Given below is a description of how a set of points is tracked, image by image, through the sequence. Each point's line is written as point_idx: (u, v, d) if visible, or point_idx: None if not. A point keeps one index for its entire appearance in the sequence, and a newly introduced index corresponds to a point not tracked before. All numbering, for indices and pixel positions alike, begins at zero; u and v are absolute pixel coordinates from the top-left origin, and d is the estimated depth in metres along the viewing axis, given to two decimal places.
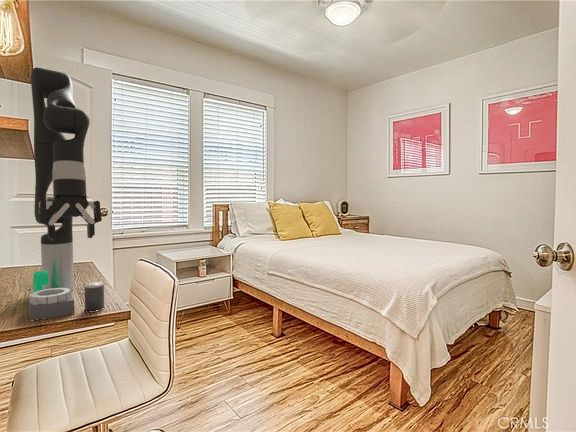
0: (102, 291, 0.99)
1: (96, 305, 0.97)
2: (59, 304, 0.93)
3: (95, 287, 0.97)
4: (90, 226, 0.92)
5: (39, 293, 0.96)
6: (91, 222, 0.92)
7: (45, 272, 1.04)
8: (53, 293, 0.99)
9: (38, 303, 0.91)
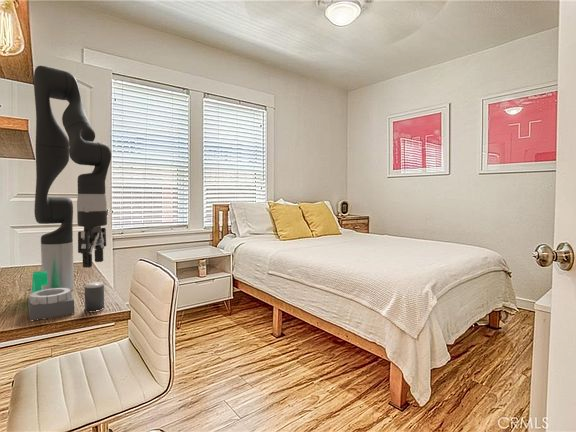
0: (102, 291, 0.99)
1: (96, 306, 0.97)
2: (59, 304, 0.93)
3: (95, 287, 0.97)
4: (102, 251, 1.03)
5: (39, 293, 0.96)
6: (103, 247, 1.03)
7: (44, 272, 1.04)
8: (53, 293, 0.99)
9: (38, 303, 0.91)
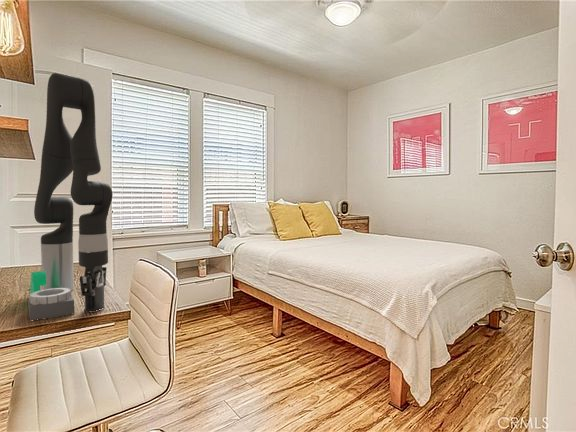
0: (102, 291, 0.99)
1: (96, 305, 0.97)
2: (59, 304, 0.93)
3: None
4: None
5: (39, 293, 0.96)
6: None
7: (43, 272, 1.03)
8: (53, 293, 0.99)
9: (38, 303, 0.91)
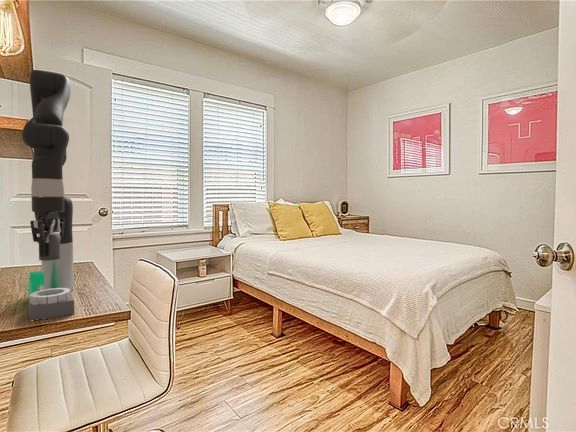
0: (58, 240, 0.95)
1: (51, 254, 0.93)
2: (59, 304, 0.93)
3: None
4: None
5: (39, 293, 0.96)
6: None
7: (41, 273, 1.03)
8: (53, 293, 0.99)
9: (38, 303, 0.91)
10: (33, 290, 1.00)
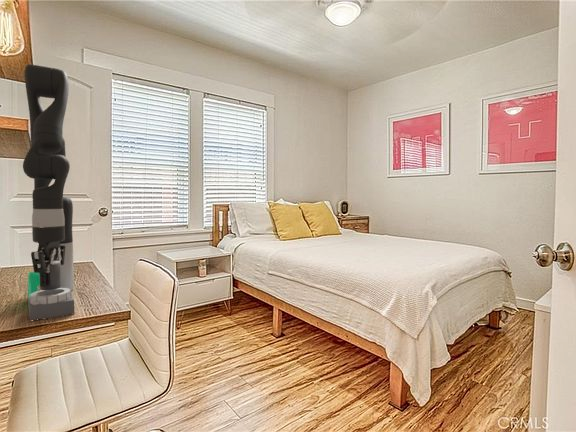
0: (58, 269, 0.95)
1: (51, 283, 0.94)
2: (59, 304, 0.93)
3: None
4: None
5: (39, 293, 0.96)
6: None
7: None
8: (53, 293, 0.99)
9: (38, 303, 0.91)
10: (32, 290, 0.99)
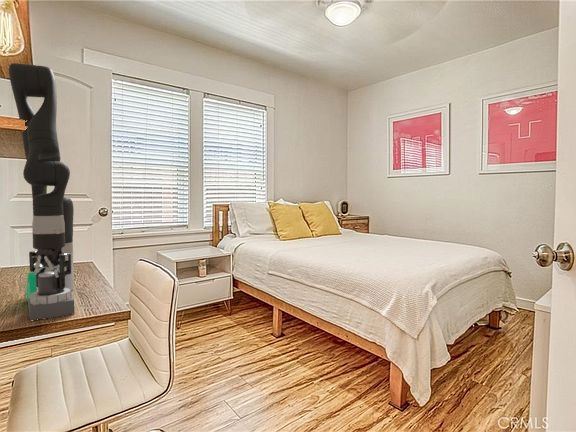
0: None
1: None
2: (59, 304, 0.93)
3: None
4: None
5: None
6: None
7: None
8: None
9: (38, 303, 0.91)
10: (31, 290, 0.99)
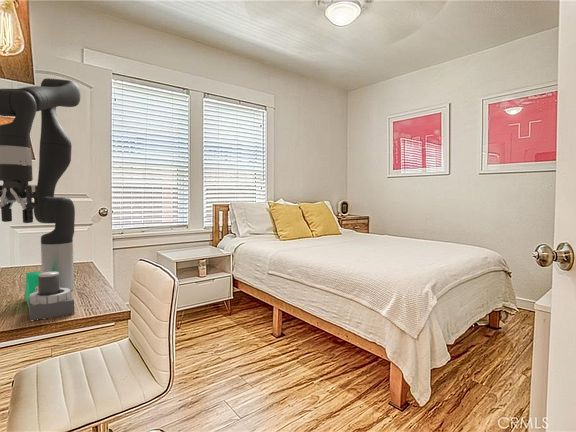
0: None
1: None
2: (59, 304, 0.93)
3: (57, 274, 0.95)
4: None
5: None
6: None
7: (38, 273, 1.03)
8: None
9: (38, 303, 0.91)
10: (30, 290, 0.99)
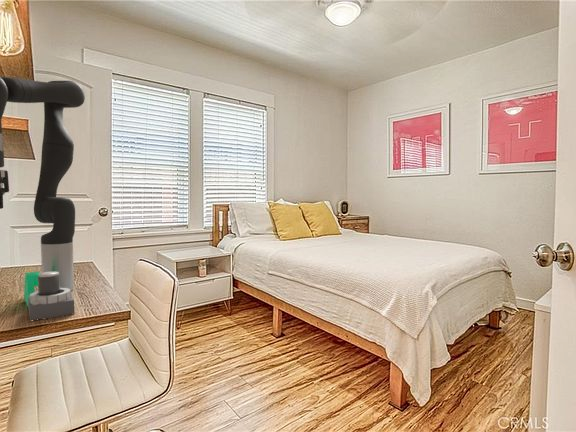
0: None
1: None
2: (59, 304, 0.93)
3: (57, 274, 0.95)
4: None
5: None
6: None
7: (37, 273, 1.02)
8: None
9: (38, 303, 0.91)
10: (29, 291, 0.99)
